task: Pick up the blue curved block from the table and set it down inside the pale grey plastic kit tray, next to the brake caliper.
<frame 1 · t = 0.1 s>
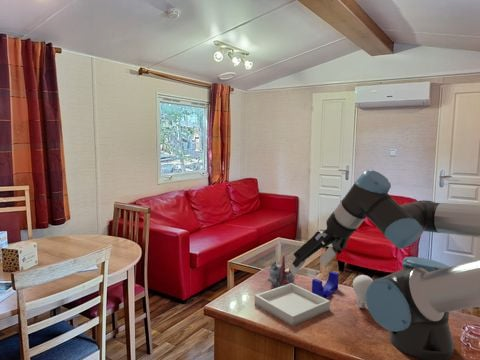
hand: (307, 267, 107), 15 cm above the table, tool tilted 35°, fingers open, 13 cm apart
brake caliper: (280, 284, 132), on the table
light bulb: (362, 308, 114), on the table
kit tray: (291, 306, 114), on the table
blue curved block: (326, 293, 125), on the table
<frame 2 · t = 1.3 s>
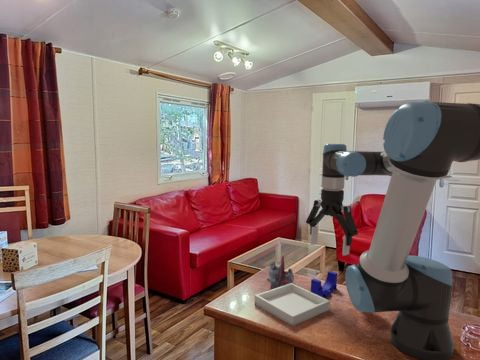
hand: (329, 249, 123), 16 cm above the table, tool pointing down, fingers open, 13 cm apart
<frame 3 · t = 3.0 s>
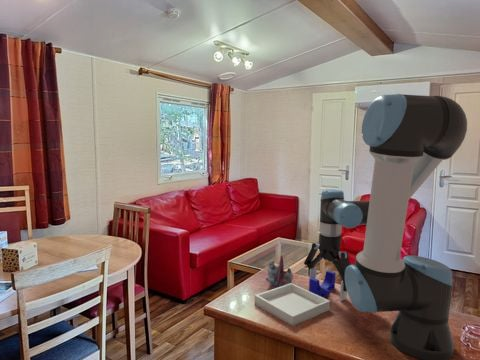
hand: (327, 292, 125), 0 cm above the table, tool pointing down, fingers open, 13 cm apart
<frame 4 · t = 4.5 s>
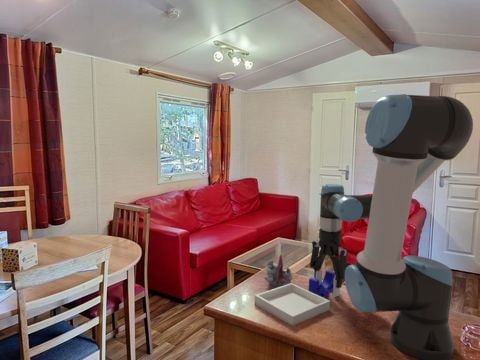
hand: (326, 291, 125), 0 cm above the table, tool pointing down, fingers open, 7 cm apart
blue curved block: (323, 292, 126), on the table, touching gripper
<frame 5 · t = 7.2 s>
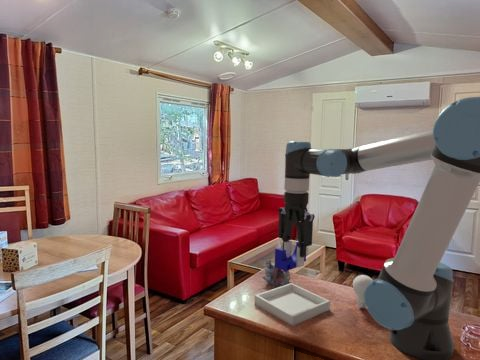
hand: (293, 263, 112), 15 cm above the table, tool pointing down, fingers closed on blue curved block, 5 cm apart
blue curved block: (292, 265, 112), point 14 cm above the table, touching gripper
when the fingers open (1 cm above the table, at t = 9.5 s): blue curved block stays where it is, resting on kit tray.
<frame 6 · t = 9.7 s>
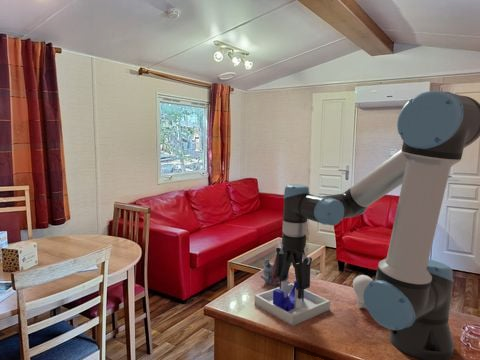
hand: (290, 303, 114), 1 cm above the table, tool pointing down, fingers open, 5 cm apart
blue curved block: (290, 305, 114), point 1 cm above the table, touching kit tray
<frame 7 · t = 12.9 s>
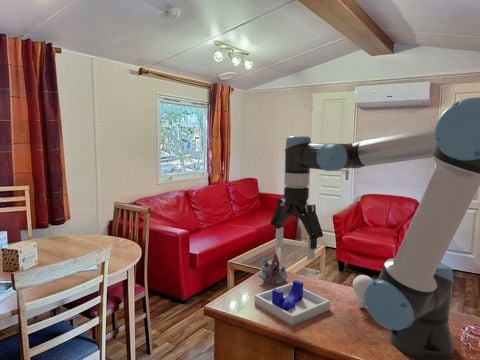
hand: (294, 252, 112), 18 cm above the table, tool pointing down, fingers open, 13 cm apart
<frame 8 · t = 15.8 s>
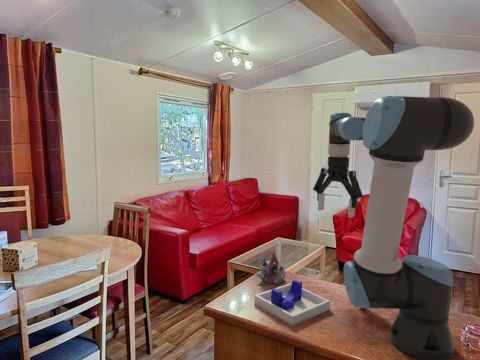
hand: (335, 213, 131), 27 cm above the table, tool pointing down, fingers open, 13 cm apart
at the end: blue curved block inside the target area on the kit tray (1.1 cm from its centre), point 0.6 cm above the kit tray's base; the gripper is holding nothing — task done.
